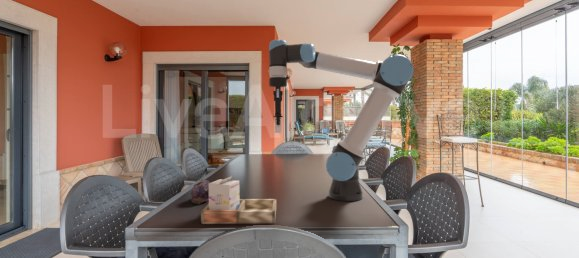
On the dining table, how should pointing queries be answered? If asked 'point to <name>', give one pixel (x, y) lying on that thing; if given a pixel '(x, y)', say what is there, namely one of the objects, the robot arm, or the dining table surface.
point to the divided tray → (242, 213)
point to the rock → (200, 192)
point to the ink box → (224, 194)
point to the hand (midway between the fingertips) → (278, 132)
